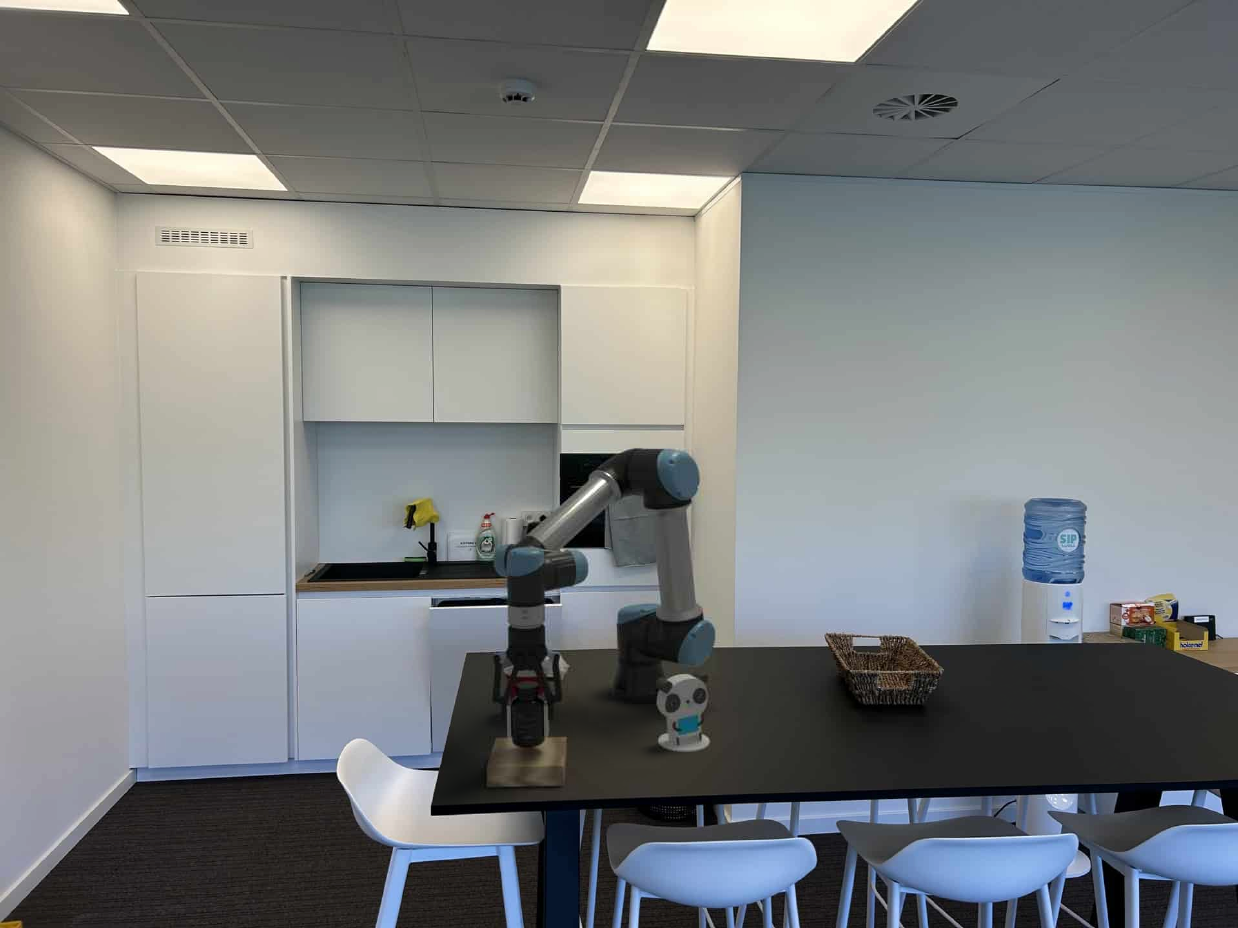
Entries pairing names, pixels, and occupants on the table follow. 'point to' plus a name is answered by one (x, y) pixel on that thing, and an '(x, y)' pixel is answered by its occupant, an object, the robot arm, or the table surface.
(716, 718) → the table surface
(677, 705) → the disc-based toy figure
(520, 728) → the supplement bottle
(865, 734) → the table surface
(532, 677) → the plastic cup
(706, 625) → the robot arm
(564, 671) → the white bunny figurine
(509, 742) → the oak block
